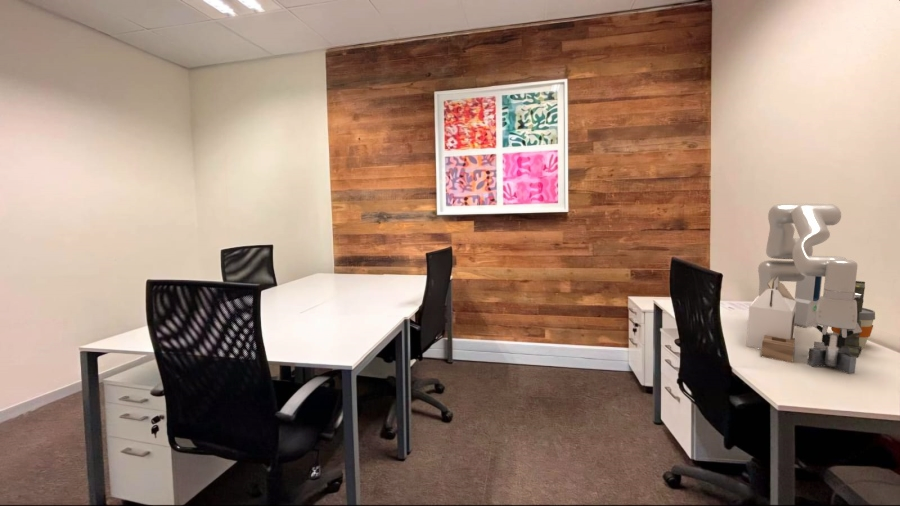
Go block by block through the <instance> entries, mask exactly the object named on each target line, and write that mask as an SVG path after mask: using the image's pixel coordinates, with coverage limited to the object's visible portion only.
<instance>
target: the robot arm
mask: <svg viewBox="0 0 900 506" xmlns="http://www.w3.org/2000/svg"><path fill="white" fill-rule="evenodd" d="M767 214H768V215H767V219H768V224H769V231H768V232H769V233H768V236H767V237H768V238H767V243H766V249H765V253H766V255H767V257H768V258H771V260H764V261H762V262H760V263H759V264H758V267H757V269H758V270H757V272H758V280H759V282H758V283H759V286H758V296H759V295H760V294H761V293H762V292H763V291H764V290H765V289H766V288H767V287H768V282H769V281H770V280H771V278H773V280H774V279H775V278H776V276H778V282H780V283H781V282H795V283H796V282H800V281H803V280H805V279H806V277H807V276H821V277H822V278H823V277H824V283H823V291H822V295H820V298H819V301H818V304H817V309H816V315H815V317H814V318H813V319H812V320H811V321H810V322H809V324H810V325H811V326H812V327H813V328H815V329H817V330H818V331H819V332H820V333H821V334H822V335H821V343H824V346H827V343H828V333H829V332H828V330H829V328H831V327H835V328H841V334H840V337H839V346H838V348H841V347H842V346H844V345H845V338H846V337H847V336H849V335H851V334H854V333H859V332H862V330H861V328H860V326H859V325H858V323H857V302H856V300H854V298H860V294H857V293H855V292H854V291H855V283H856V281H857V273H858V263H857V262H856V261H854V260H851V259H848V258H845V257H843V256H837V255H836V256H835V255H834V256H831V255H830V256H828V255H827V256H826V255H813V251H814V248H813V247H814V246H818V245H820V244H822V243H824V242H826V241H827V240H829V238H830V237H831V232H830V230H829V228H828V226H835V225H838V224H839V223H840V221H841V219H842V211H841V209H840V208H839V207H838V206H837V205H835V204H832V203H781V204H776V205H773V206H772V207H770V208H769V211H768V213H767ZM793 224H794V225H793ZM795 229H796V231H797V235H798V236H799V237H796V238H795V237H794V235H795ZM772 259H773V260H772ZM774 259H775V260H774ZM816 323H817V324H816ZM818 324H819V325H818ZM847 329H852V330H848V331H847Z"/></svg>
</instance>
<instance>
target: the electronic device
mask: <svg viewBox="0 0 900 506" xmlns="http://www.w3.org/2000/svg"><path fill="white" fill-rule="evenodd" d="M822 281H823V277H821V276H807V277H806V279H805V280H803V281H800V282H795V291H794V292H795V293H794V299H795V301H796V312H795V322H794V326H798V327H802V328H811V327H813V326H811V325H810V324H809V322H810V321H811V320H812V319H813V318H814V317H815V315H816V309H817V304H818V301H819V298H820V296H821V293H822V283H823V282H822ZM816 324H817V323H816ZM818 325H819V324H818Z"/></svg>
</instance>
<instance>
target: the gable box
mask: <svg viewBox="0 0 900 506" xmlns="http://www.w3.org/2000/svg"><path fill="white" fill-rule="evenodd" d="M748 308H749V310H748V320H747V321H748V322H747V334H746V335H747V336H746V347H747V346H748V348H752V347H754V349H758V348H759V349H758V350H762V341H763V338H764V335H767V336H773V337H778V338H784V339H791V338H794V332H795V331H794V330H795V325H794V322H795V312H796V301H795V297H793V296H792V294H791V293H790V291H789V290H788V289H787V287H786V286H785V285H784V284H783V282H781V281H780V282H778V276H776V278H775V279H774V280H773V278H771V280H770V281H769V282H768V287H767V288H766V289H765V290H764V291H763V292H762V293H761V294H760V295H759V294H758V295H757V296H756V297H755V298H754V300H753V301H752V303H750V305H749V307H748Z"/></svg>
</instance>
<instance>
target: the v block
mask: <svg viewBox="0 0 900 506" xmlns="http://www.w3.org/2000/svg"><path fill="white" fill-rule="evenodd" d="M825 355H826V346H824V343H823V342H820V341H814V342H813V347H811V348H808V356H807V365H808V364H809V366H810V365H811V367H813V366H815V367H832V368H834V369H837V370H838V371H841V372H844V373H846V374H855V372H856V364H857V363H856V362H857V357H856V356H853V355H850V352H849V348H848V347H845V346H842V347H841V348H838V356H837V365H836V366H831V365H827V364H825Z"/></svg>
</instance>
